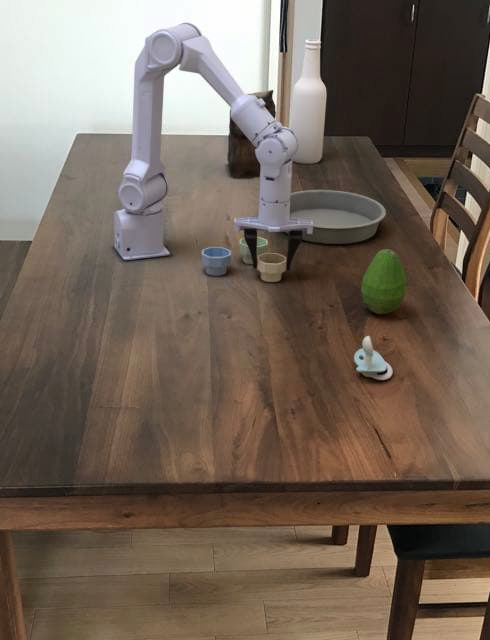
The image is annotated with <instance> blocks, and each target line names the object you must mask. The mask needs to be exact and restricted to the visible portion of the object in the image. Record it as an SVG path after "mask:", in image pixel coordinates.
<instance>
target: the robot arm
mask: <svg viewBox="0 0 490 640" xmlns="http://www.w3.org/2000/svg"><path fill="white" fill-rule="evenodd" d="M178 66H179V67H178ZM177 67H178V70H179V71H181V72H187V73H192V74H198V75H200V76H201V77H202V79H203V80H204V81H205V82H206V83H207V84H208V85H209V86H210V87H211V88H212V89H213V90H214V92H216V93H217V94H218V95H219V97H220V98H221V99H222V100H223V101H224V102H225V103H226V104H227V106H229V108H230V109H231V119H232V120H233V121H234V122H235V123H236V125H237V126H238V127H239V128H240V129H241V131H242V132H243V133H244V134H245V135H246V137H247V138H248V139H249V140H250V141H251V143H252V144H253V145H254V146H255V147H256V148H257V149H255V153H256V157H257V159H258V161H259V162H260V165H261V171H260V176H259V192H258V193H259V194H258V195H259V196H258V197H259V198H258V216H249V217H234V222H233V223H234V224H233V225H234V226H233V227H234V229H233V230H234V231H233V232H237V233H239V232H241V231H243V238H245V241H246V243H247V245H248V248H249V250H250V253H251V257H252V261H253V264H252V269H253V270H258V269H257V237H258V232H268V233H282V232H283V233H286V232H288V234H287V251H286V259H287V265H286V270H285V271H290V270H291V265H292V262H293V260H294V257H295V254H296V252H297V250H298V248H299V246H300V245H301V244H302V241H303V240H302V239H303V235H302V234H303V232H306V233H307V234H312V231H313V221H310V220H301V219H294V218H289V214H290V197H291V193H292V181H293V180H292V179H293V178H292V177H293V161H292V160H291V158H292V157H293V156H294V155H295V154H296V152H297V150H298V140H297V138H296V136H295V134H294V132H293V131H292V130H291V128H290V127H286V126H283V124H282V123H281V122H280V121H277V120H276V118H275V119H274V118H273V116H272V115H271V114H270V113H269V112H268V110H267V109H266V108H265V107H264V105H265V102H264V101H263V100H262V99H261V98H260V99H258V98H257V97H256V96H255V95H247V94H248V93H245V92H244V90H243V89H242V87H241V86H240V85H239V83H238V82H237V81H236V80H235V78H234V77H233V75H232V74H231V72H230V71H229V70H228V69H227V68H226V66H225V65H224V63H223V61H222V60H221V59H220V58H219V56H218V55H217V53H216V52H215V51H214V49H213V46H212V43H211V42H210V40H209V39H208V37H206V35H204V34H203V33H202V31H201V29H200V28H199V27H198V26H197V25H195V24H194V23H191V22H181V23H180V24H177V25H174V26H173V25H172V26H169V27H167V28H159V29H157V30H155V31H154V32H152V33H151V34H149V35H148V36H146V37H145V38H144V46H143V48H142V49H141V51H140V53H139V55H138V56H137V58H136V60H135V62H134V69H133V72H134V74H133V99H132V100H133V101H132V102H133V105H132V131H131V134H132V135H131V136H132V137H131V159H130V161H129V162H128V165H127V166H126V168H125V169H124V171H123V174H122V182H121V184H120V185H119V187H118V191H117V195H118V196H117V197H118V200H119V203H120V205H121V206H122V208H123V209H120V210H116V211H114V212H113V213H114V214H113V229H114V230H113V231H114V246H113V247H114V249H115V250H116V252H118V254H119V255H120V257H121V258H122V260H124V261H131V260H141V259H148V258H157V257H166V256H170V254H171V253H170V251H169V250H168V249H167V248H166V246H165V245H164V215H163V214H164V213H163V212H164V211H163V210H164V209H163V205H164V199H166V197H167V195H168V194H169V189H170V186H169V185H170V184H169V181H168V178H167V174H166V165H165V164H164V162H162V160H161V149H162V131H163V130H162V128H163V112H164V111H163V110H164V109H163V108H164V107H163V106H164V88H165V77H166V75H168V74H169V73H171V72H172V71H173V70H174V69H176V68H177Z"/></svg>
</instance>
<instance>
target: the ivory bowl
mask: <svg viewBox="0 0 490 640" xmlns="http://www.w3.org/2000/svg"><path fill="white" fill-rule="evenodd" d="M286 257H287V255H286V256H285V255H283V254H280V253H278V252H267V253H264V254H261V255H258V256H257V269H256V270H257V271H259V272H260V279H261V280H262V281H264V282H267V283H277V282H280V281H281V280H282V276H283V275H282V274H283V273H284V272H286V271H287V270H286V265H287V259H286Z"/></svg>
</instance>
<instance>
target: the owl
mask: <svg viewBox="0 0 490 640" xmlns="http://www.w3.org/2000/svg"><path fill="white" fill-rule="evenodd" d="M246 94H247V95H255V96H256V97H257V98H258V99H260V98H261V99H262V100H263V101H264V102H265V105H264V107H265V108H266V109H267V110H268V112H269V113H270V114H271V115H272V116H273V118H274V119H275V120H276V117H277V111H276V104H275V101H274V97H273V94H274V90H273V89H269V90H266V91H256V92H253V93H246ZM228 131H229V132H228V135H227V137H228V138H227V141H228V143H227V145H228V146H227V166H228V173H229V176H230V177H231V178H233V179H253V178H254V177H260V171H261V165H260V162H259V161H258V159H257V157H256V153H255V149H257V148H256V147H255V146H254V145H253V144H252V143H251V141H250V140H249V139H248V138H247V137H246V135H245V134H244V133H243V132H242V131H241V129H240V128H239V127H238V126H237V125H236V123H235V122H234V121H233V120H232V119H231V108H230V109H229V124H228Z"/></svg>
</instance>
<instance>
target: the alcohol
mask: <svg viewBox="0 0 490 640" xmlns="http://www.w3.org/2000/svg"><path fill="white" fill-rule="evenodd" d="M304 43H305V44H304V55H303V63H302V70H301V75H300V78H298V80H297V81H296V83H295V84H294V85H293V90H292V96H291V97H292V98H291V113H290V114H291V116H290V129H291V130H292V131H293V132H294V134H295V136H296V138H297V140H298V150H297V152H296V154H295V155H294V156H293V157H292V158H291V159H290V160H292V162H294V163H298V164H304V165H308V164H309V165H312V164H316V163H318V162H320V161H321V160H322V158H323V147H324V135H325V134H324V133H325V122H326V121H325V120H326V108H327V107H326V106H327V97H328V96H327V87H326V85H325V83H324V82H323V81H322V77H321V47H322V46H321V44H322V42H321V40H320V39H315V38H308V39H306V40H305V41H304Z"/></svg>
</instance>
